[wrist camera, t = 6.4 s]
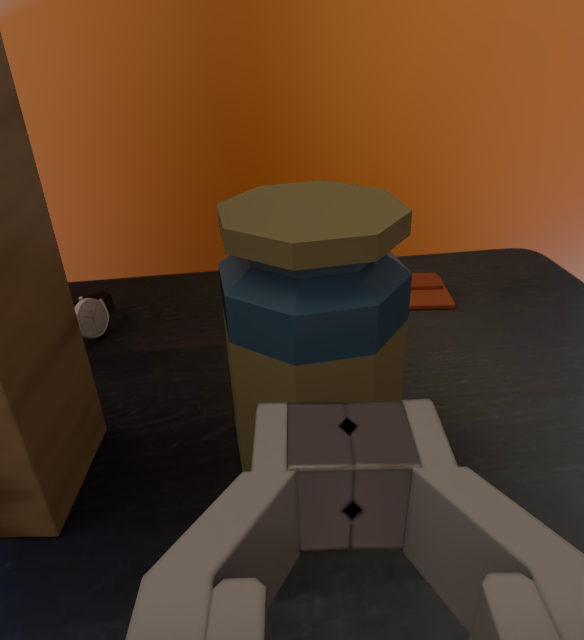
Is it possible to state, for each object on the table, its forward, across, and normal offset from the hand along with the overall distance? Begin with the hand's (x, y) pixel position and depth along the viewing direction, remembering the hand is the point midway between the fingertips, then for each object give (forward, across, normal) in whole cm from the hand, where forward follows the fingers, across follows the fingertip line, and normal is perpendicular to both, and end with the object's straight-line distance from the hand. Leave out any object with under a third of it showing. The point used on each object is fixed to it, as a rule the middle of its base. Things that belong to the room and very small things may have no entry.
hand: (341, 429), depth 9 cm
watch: (+30, +19, +16) cm, 39 cm away
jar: (+15, 0, +16) cm, 22 cm away
